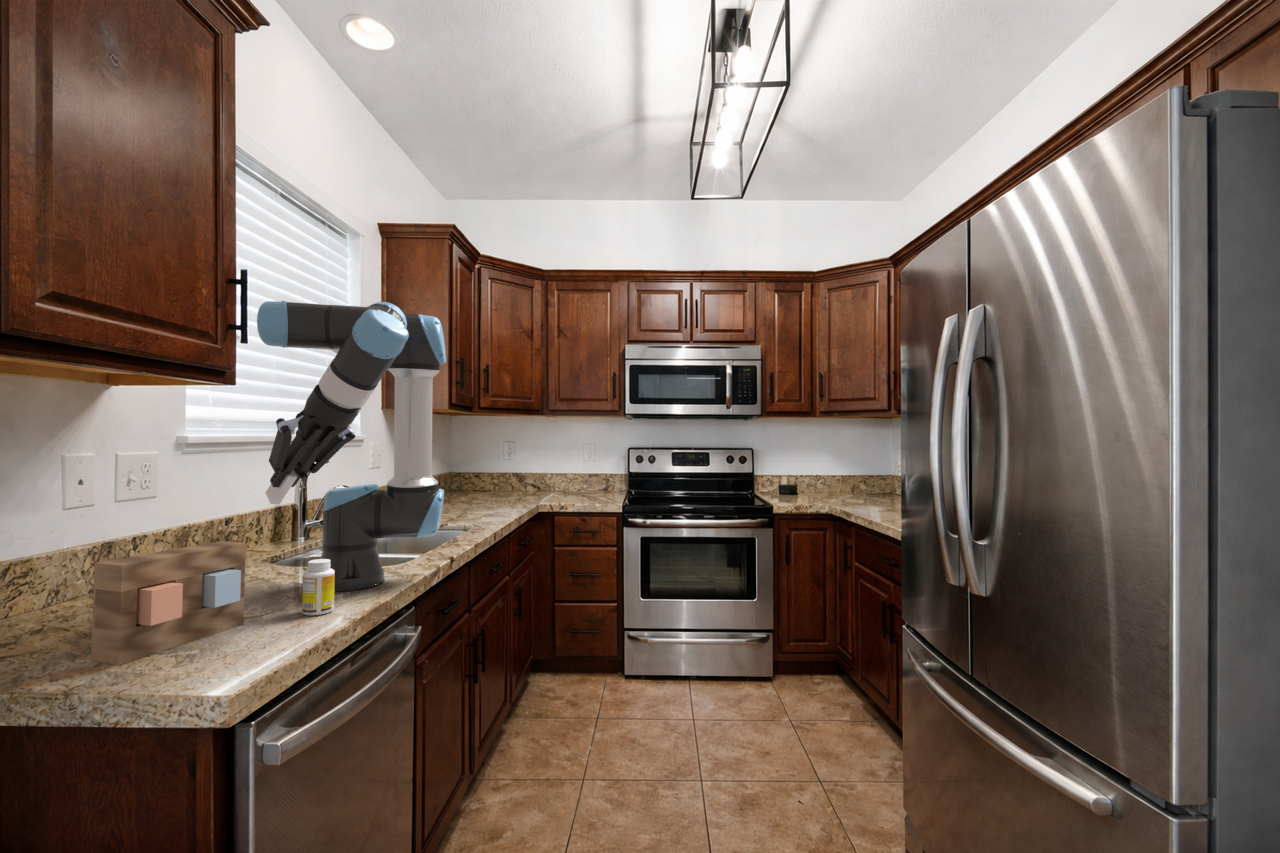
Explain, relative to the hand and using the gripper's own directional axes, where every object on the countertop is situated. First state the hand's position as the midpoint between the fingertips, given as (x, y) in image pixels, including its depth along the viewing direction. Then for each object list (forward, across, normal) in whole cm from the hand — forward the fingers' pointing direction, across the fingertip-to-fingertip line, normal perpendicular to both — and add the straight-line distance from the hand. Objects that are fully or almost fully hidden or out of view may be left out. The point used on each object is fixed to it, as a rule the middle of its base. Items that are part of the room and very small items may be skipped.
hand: (272, 498), depth 98 cm
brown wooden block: (+27, +6, +7) cm, 29 cm away
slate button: (+22, +1, +4) cm, 23 cm away
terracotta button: (+21, +11, +6) cm, 25 cm away
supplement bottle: (+22, -15, +10) cm, 29 cm away
